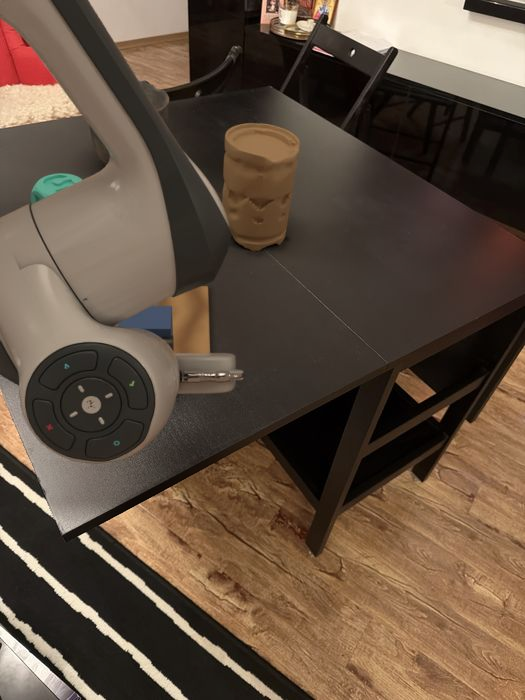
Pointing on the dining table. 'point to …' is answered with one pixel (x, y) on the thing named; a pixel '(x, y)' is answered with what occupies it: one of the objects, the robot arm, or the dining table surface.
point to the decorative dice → (52, 185)
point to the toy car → (154, 322)
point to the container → (259, 182)
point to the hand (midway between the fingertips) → (144, 366)
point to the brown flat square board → (190, 320)
